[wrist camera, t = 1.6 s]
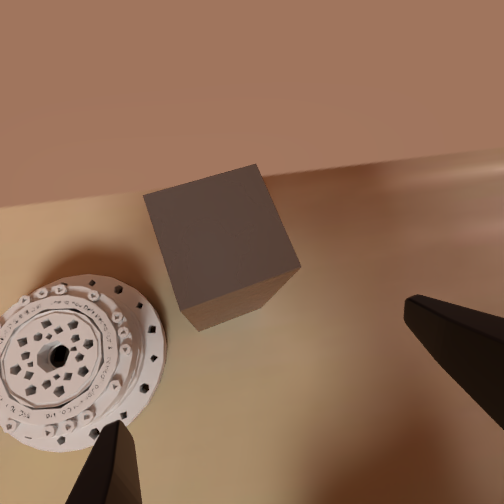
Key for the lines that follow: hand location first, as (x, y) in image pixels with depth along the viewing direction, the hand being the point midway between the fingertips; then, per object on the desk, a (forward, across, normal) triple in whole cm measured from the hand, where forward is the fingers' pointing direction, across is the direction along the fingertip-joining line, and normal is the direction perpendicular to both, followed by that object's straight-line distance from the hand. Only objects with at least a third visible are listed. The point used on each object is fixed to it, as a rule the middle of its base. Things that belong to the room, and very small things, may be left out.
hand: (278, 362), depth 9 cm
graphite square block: (+12, 0, +5) cm, 13 cm away
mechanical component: (+12, +9, +6) cm, 16 cm away
